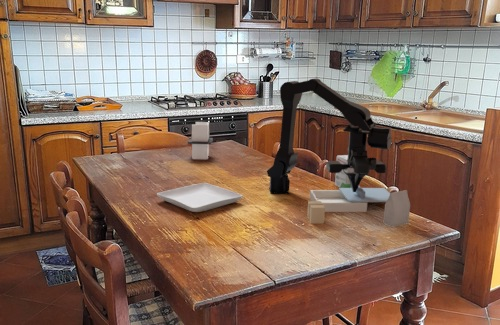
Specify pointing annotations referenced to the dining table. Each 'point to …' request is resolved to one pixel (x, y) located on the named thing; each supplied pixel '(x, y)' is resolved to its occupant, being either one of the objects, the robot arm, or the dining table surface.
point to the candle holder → (200, 140)
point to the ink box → (342, 174)
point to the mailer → (336, 201)
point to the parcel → (316, 212)
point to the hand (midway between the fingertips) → (354, 191)
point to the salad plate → (199, 197)
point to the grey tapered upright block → (397, 209)
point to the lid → (366, 194)
